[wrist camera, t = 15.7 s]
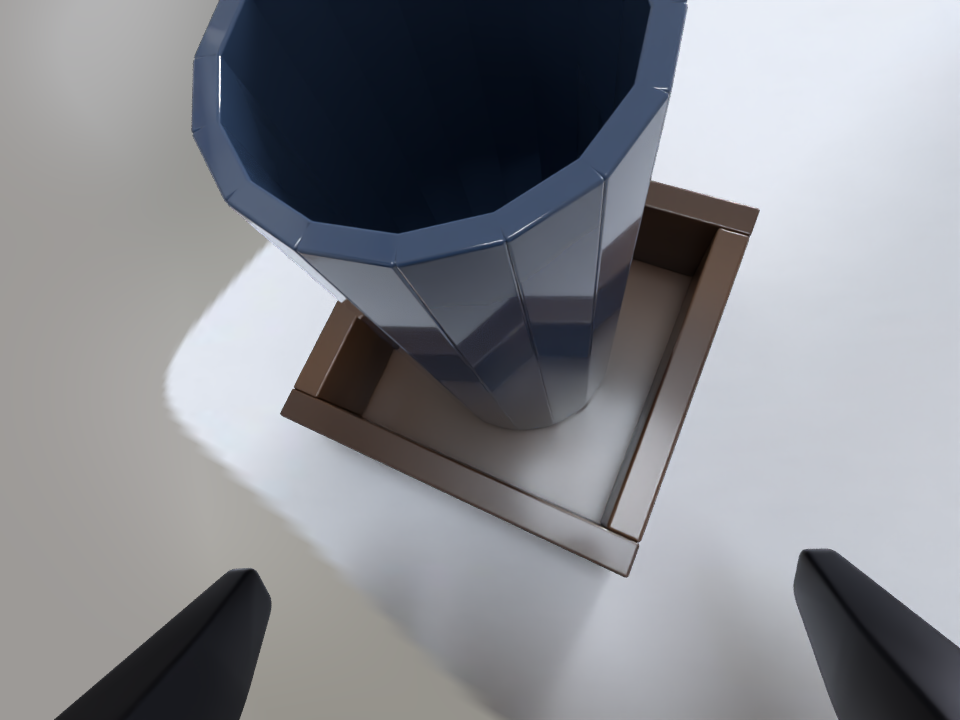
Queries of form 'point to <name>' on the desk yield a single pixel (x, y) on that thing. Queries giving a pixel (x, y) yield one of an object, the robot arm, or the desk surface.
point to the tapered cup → (450, 172)
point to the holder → (576, 440)
